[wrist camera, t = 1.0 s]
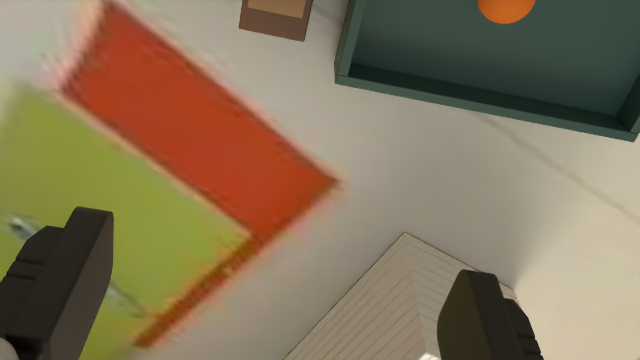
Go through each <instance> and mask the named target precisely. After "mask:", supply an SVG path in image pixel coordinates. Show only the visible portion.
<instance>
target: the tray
mask: <svg viewBox="0 0 640 360" xmlns="http://www.w3.org/2000/svg"><path fill="white" fill-rule="evenodd" d="M334 72H335V84H339V85H344V86H350V87H355V88H360V89H365V90H370V91H375V92H380V93H385V94H390V95H395V96H400V97H406V98H411V99H416V100H421V101H426V102H431V103H436V104H441V105H446V106H451V107H456V108H462V109H467V110H472V111H477V112H482V113H487V114H492V115H497V116H502V117H507V118H512V119H518V120H523V121H528V122H533V123H538V124H543V125H548V126H553V127H558V128H563V129H568V130H574V131H579V132H584V133H589V134H594V135H599V136H604V137H609V138H614V139H619V140H624V141H630V142H634V141H635V140H636V138H637V136H638V134H639V133H640V0H536V1H535V3H534V5H533V7H532V9H531V10H530V11H529V13H528V14H527V15H526V16H524V17H523V18H522V19H520V20H518V21H516V22H513V23H509V24H500V23H495V22H493V21H491V20H489V19H487V18H486V17H485V16H484V15H483V14H482V13H481V11H480V9H479V7H478V4H477V0H349V4H348V8H347V12H346V16H345V20H344V24H343V29H342V33H341V37H340V41H339V45H338V49H337V53H336V57H335V61H334Z"/></svg>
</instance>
